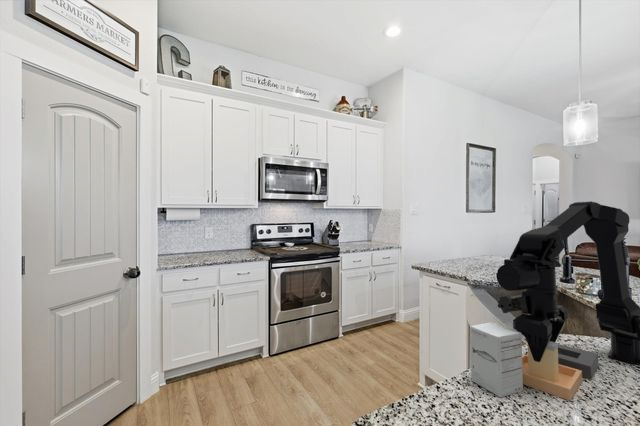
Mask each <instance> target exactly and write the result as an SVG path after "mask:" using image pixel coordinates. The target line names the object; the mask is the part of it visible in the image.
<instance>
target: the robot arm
mask: <svg viewBox="0 0 640 426" xmlns="http://www.w3.org/2000/svg"><path fill="white" fill-rule="evenodd" d="M629 224H630V216H629V214H628V213H627V212H626V211H624V210H622V209H621V208H617V207H614V206H607V205H605V204H600V203H599V202H596V201H591V200H590V201H577V202H572V203H569V205H568V208H566V209H565V210H564V211H562V212H561V213H560V214H559V215H558V216H556V217H555V218H553V219H552V220H550V222H548V223H546V225H544V226H542V227H538V228H534V229H531V230H528V231H526V232H524V233H522V234H521V235H520V236H519V239H518V241H517V243H516V245H515V247H514V249H513V251H512V253H511V255H510V257H509V258H507V259H504V260H503V263H504V264H503V265H500V266H499V267H498V269H497V272H496V273H495V274H496V276H495V277H496V280H497V283H498V285H499V286H500V287H501V288H502V289H504V290H505V291H509V292H513V291H521V294H519V295H513V296H510V295H508V294H507V295H502V296H499V299H498V300H497V307H498V309H501V311H502V314H509V313H511V312H517V311H518V312H519V311H521V314H520V315H519V316H517V317H515V318H514V319H512V327H513V329H512V330H515V331H518V332H521V333H522V337H524V338H525V340H526V342H527V346H528V345H529V348H530V351H531V354H532V356H533V359H534V361H536V362H540V361H541V359H542V357H543V354H544V352H545V350H546V347H547V345H548V343H549V341H551V342H555V343H557V340H558V338H559V336H560V335H561V332H562V330H563V328H564V326H565V324H566V323H567V320H568V318H569V317H568V313H569V312H568V309H567V308H566V307H564V306H563V305H561V304H558V303H557V300H558V298H559V297H560V293H559V291H557V275H556V274H557V272H556V268H560V267H562V264H561V263H560V262H559V261H558V260H557V259H556V258H557V257H559V255H560V254H561V253H562V251H564V250H565V248H566V245H565V241H566V240H567V239H569V237H571V236H572V235H573V234H574V233H575V232H577V230H579V229H581V227H582V226H583V227H584V231H585V235H587V236H588V237H589V238H590V239H591V240H592V242H594V243H595V248H596V254H597V255H596V256H597V261H598V262H597V263H598V269H599V274H600V280H601V281H600V282H601V287H602V289H601V290H602V295H603V297H602V298H601V300H600V301H599V302H597V303H596V304H595V306H594V307H595V311H596V318H597V321H598V322H597V323H598V325H599V329H600V331H602V332H608V333H609V334H610V335H609V336H610V349H609V351H608V353H607V358H610V359H615V360H618V361H622V362H626V363H629V364H635V365H638V366H640V306H639V305H638V303H636V302H635V300H634V299H633V298H632V297H631V296H630V291H629V290H630V289H629V284H628V277H627V276H628V275H627V271H626V265H625V258H624V252H623V246H622V245H623V244H622V241H624V239H625V237H626V235H627V234H628V233H629ZM522 290H523V291H522ZM559 317H560V318H559Z"/></svg>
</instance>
